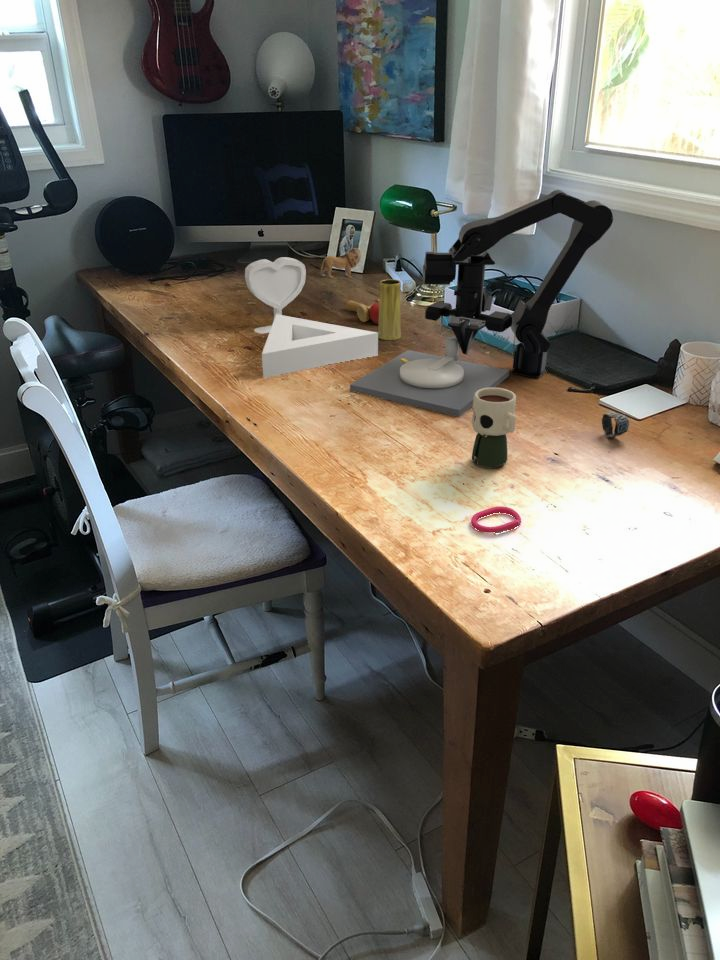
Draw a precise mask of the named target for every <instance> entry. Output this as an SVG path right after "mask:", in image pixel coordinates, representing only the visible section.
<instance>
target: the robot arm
mask: <svg viewBox="0 0 720 960" xmlns="http://www.w3.org/2000/svg"><path fill="white" fill-rule="evenodd" d="M557 214H562V215H564V216H566V217H568V218H571V219H572V220H573V221H572V224H571V229H570V233H569V235H568V239H567V241H566V242H565V244H564V246H563V247H562V249H561V251H560V252H559V254H558V256H556V257H557V258H556V259H555V260H554V262H553V263H552V265H551V267H550V268H549V270H548V272H547V273H546V275H545V276H544V278H543V279H542V281H541V282H540V284H539V286H538V288H537V290H536V291H535V293H534V294H533V296H532V297H531V298H530V299H528V300H527V301H526V302H524V301H523V300H521V299H520V300H519V301H518V304H517V305H516V308H515V309H514V310H513V312H511V313H509V312H503V311H497V310H495V311H493V312H491V313H490V314H487V313H486V314H484V313H485V312H487V311H491V308H492V304H493V298H494V297H493V296H491V295H490V294H486V291H487V290H486V287H484V286H485V273H486V266H490V265H491V266H493V265H495V264H496V262H495V260H494V258H493V257H492V256H491V255H490V253H489V252H488V251H489V249H491V248H493V247H494V246H495V245H497V244H498V243H499V242H500V241H501V240H503V239H504V238H506V237H507V236H509V235H512V234H514V233H516V232H518V231H521V230H523V229H525V228H528V227H530V226H532V225H535V224H537V223H539V222H541V221H544V220H546V219H549V218H550V217H552V216H555V215H557ZM613 221H614V215H613V212H612V210H611V209H610V208H609V207H608V206H607V205H605V204H603V203H602V202H600V201H598V200H593V199H591V200H588V201H584V200H582V199H580V198H577V197H574V196H572V195H570V194H567V193H566V192H564V191H563V190H560V189H555V190H553V191H551V192H550V193H549V194H547V195H545V196H541V197H540V198H537V199H535V200H533V201H531V202H529V203H526V204H524V205H521V206H519V207H517V208H515V209H512V210H510V211H508V212H505V213H504V214H500V215H498V216H495V217H490V218H489V217H488V218H481V219H477V220H474V221H470V222H467V223H465V224H464V225H463V226H461V228H460V231H459V233H458V238H457V240H456V241H454V243H453V244H452V245H451V247H450V248H449V249H448V252H434V251H426V252H425V255H424V262H423V265H422V284H423V286H447V285H449V286H450V284H451V283H453V282H454V281H456V275H457V282H456V289H454V290H453V296H455V297H456V298H455V299H456V300H455V308H453V306H452V304H451V303H450V302H449V303H448V302H445V301H444V302H443V301H435V302H433V303H432V304H429V305H428V306H427V307H426V308H425V311H424V319H425V320H428V321H435V322H437V321H438V320H439V319H441V317H447V318H449V322H448V323H447V327H448V328H451V330H452V332H453V333H454V336H455V337H456V338H457V340H458V343H459V349H460V350H461V353H462V354H463V355H467V354H468V353H469V351H470V349H471V347H472V344H473V342H474V340H475V338H476V336H477V334H478V332H479V331H481V330H483V329H484V328H486V329H487V331H489V332H496V333H503V332H504V331H505V332H506V330H508V329H509V328H510V330H511V331H512V333H513V335H514V336H515V338H516V340H517V341H518V342H519V343H518V344H517V345H516V350H514V351H513V358H512V359H513V360H512V370H511V374H515V375H520V376H524V377H527V378H533V379H539V378H540V377H541V376H543V375H544V374H545V373H546V372H547V371H546V369H545V367H546V368H547V357H548V351H549V348H550V346H551V343H550V341H549V340H548V338H547V337H546V335H545V334H544V329H545V326H546V324H547V319H548V318H549V317H548V316H549V313H550V309H551V307H552V306H553V304H554V302H555V300H556V299H557V298H558V296H559V295H560V293H561V291H562V290H563V288H564V287H565V285H566V283H567V282H568V280H569V279H570V278H571V276H572V274H573V273H574V271H575V270H576V268H577V267H578V264H579V263H580V261H581V260H582V258H583V257H584V256H585V253H586V252H587V251H588V250H589V249H590V248H591V247H592V246H594V245H595V244H596V243H597V242H599V241H600V240H601V239H602V238H603V236H604V235H605V234H606V233H607V231H608V230H609V229H610V228H611V226H612V224H613ZM482 312H483V313H482Z"/></svg>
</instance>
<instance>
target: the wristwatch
mask: <svg viewBox="0 0 720 960" xmlns="http://www.w3.org/2000/svg"><path fill="white" fill-rule="evenodd" d="M612 419H614V421H615V426H613V421H612ZM601 425H602V430H603V431H604V436H605V437H606V438H615V437H619V436H621V435H623V434H625V433H627V432H628V430H629V425H630V421H629V419H628V417H626V415H625V414H623V413H617V412H615V411H612V412H611V411H610V412H606V413H604V414H603V415H602V418H601ZM613 427H614V428H613Z"/></svg>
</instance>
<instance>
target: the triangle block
mask: <svg viewBox="0 0 720 960" xmlns="http://www.w3.org/2000/svg"><path fill="white" fill-rule="evenodd" d="M271 325H272V327H271V330H270V332H269V333H268V336H267V338H266V341H265V343H264V346H263V349H262V352H261V362H262V364H261V365H262V374H263V375H262V377H263V379H268V378H272V377H271V376H273V377H277V376H276V375H278V376H281V374H283V375H287V374H286V373H288V374H292V373H291V372H293V373H297V372H296V371H298V372H301V371H300V370H303V371H306V369H308V370H311V369H310V368H313V369H316V368H315V367H318V368H321V367H320V366H323V367H325V366H324V365H328V364H333V365H335V364H334V363H338V364H341V363H340V362H343V363H346V362H345V361H349V362H351V361H350V360H354V361H357V360H356V359H359V360H362V358H364V359H368V358H367V357H369V358H372V357H373V356H374V357H377V356H379V338H378V332H377V331H371V330H366V329H360V328H355V327H349V326H343V325H338V324H333V323H332V324H331V323H325V322H322V321H316V320H311V319H305V318H300V317H299V318H298V317H293V316H290V315H289V316H287V315H284V314H282V315H278V314H276V316H275V319H274V318H273V322H272V324H271ZM328 366H329V365H328ZM267 377H268V378H267Z"/></svg>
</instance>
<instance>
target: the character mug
mask: <svg viewBox="0 0 720 960" xmlns="http://www.w3.org/2000/svg"><path fill="white" fill-rule="evenodd" d="M516 404H517V396H516V393H514V392H513V391H512V390H508V389H506V388H502V387H495V388H482V389H480V390H477V391H476V392H475V394H474V399H473V406H472V410H473V411H472V417H471V424H472V425H471V426H472V428H473V430H474V431H475V432H476V435H475V440H474V443H473V447H472V454H471V457H470V458H471V460H472V463H475V459H477V462H476V464H477V466H479V467H483V468H487V469H488V468H489V469H491V468H492V469H494V468H497V467H500V466H501V467H502V465H504V464H506V463H507V462H508V437H507V435H508V434H511V433H514V431H515V429H516V420H517V419H516V415H515V414H516V413H515V412H516Z"/></svg>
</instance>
